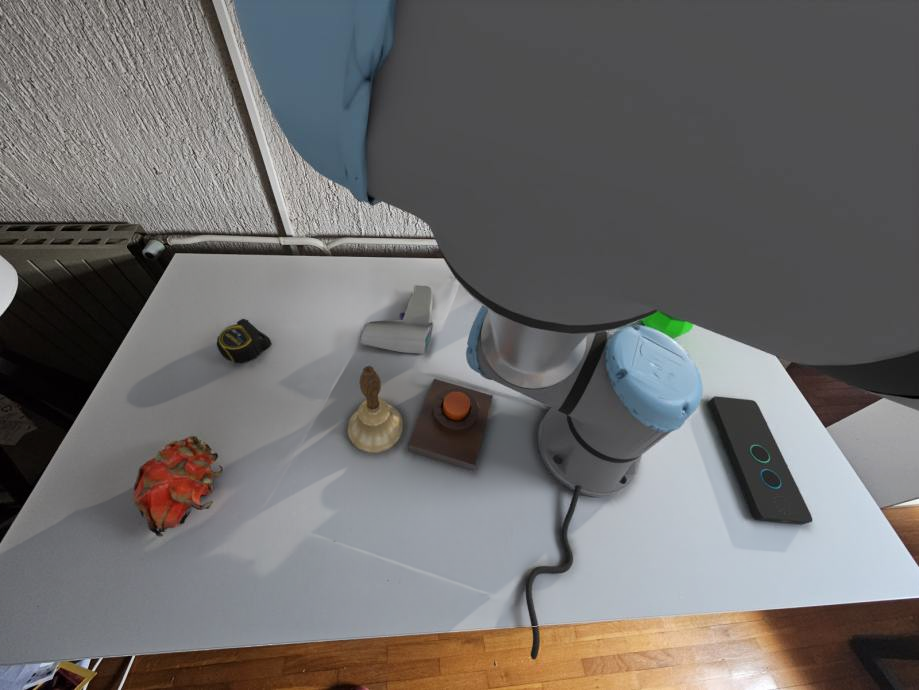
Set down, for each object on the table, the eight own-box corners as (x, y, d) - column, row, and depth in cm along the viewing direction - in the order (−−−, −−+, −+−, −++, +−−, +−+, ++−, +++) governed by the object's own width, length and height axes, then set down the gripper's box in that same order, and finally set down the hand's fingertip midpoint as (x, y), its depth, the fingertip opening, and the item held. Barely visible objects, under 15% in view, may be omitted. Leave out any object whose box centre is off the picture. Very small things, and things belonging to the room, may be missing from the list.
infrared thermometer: (434, 301, 77) (430, 357, 67) (374, 295, 76) (360, 352, 66) (436, 283, 74) (431, 340, 64) (372, 277, 73) (357, 334, 63)
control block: (473, 470, 56) (477, 460, 52) (408, 450, 56) (408, 439, 53) (490, 402, 63) (495, 389, 60) (433, 385, 64) (434, 372, 61)
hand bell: (410, 411, 60) (411, 352, 48) (391, 460, 55) (385, 407, 43) (362, 396, 61) (349, 334, 49) (338, 443, 56) (317, 386, 43)
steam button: (465, 424, 56) (466, 418, 55) (439, 416, 56) (439, 410, 55) (471, 401, 59) (473, 395, 57) (446, 394, 59) (447, 388, 57)
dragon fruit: (221, 446, 55) (192, 539, 50) (151, 435, 51) (108, 536, 45) (238, 435, 50) (207, 537, 44) (161, 420, 45) (114, 533, 39)
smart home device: (761, 517, 54) (711, 395, 66) (752, 520, 55) (705, 400, 68) (816, 522, 54) (757, 400, 67) (806, 525, 56) (750, 404, 68)
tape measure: (276, 349, 65) (270, 335, 62) (239, 374, 61) (230, 360, 58) (252, 328, 67) (245, 313, 64) (214, 350, 63) (205, 336, 61)
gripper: (694, 140, 53) (621, 268, 71) (567, 112, 54) (527, 244, 73) (701, 165, 48) (621, 295, 67) (562, 133, 50) (521, 269, 68)
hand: (572, 268), depth 70 cm, fingers closed on switch lever, 5 cm apart
